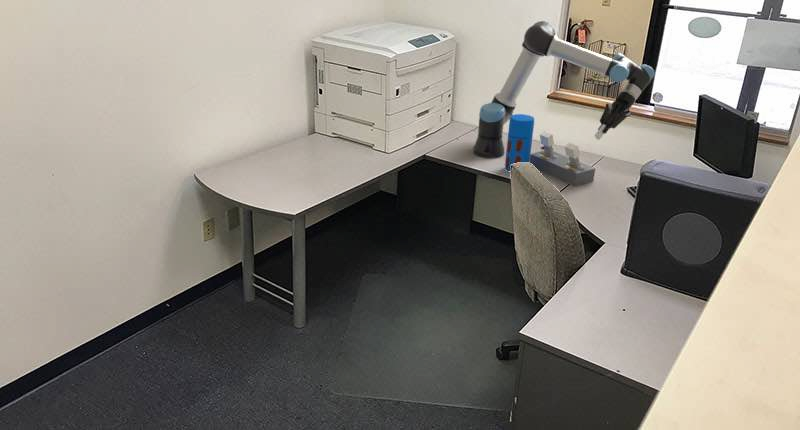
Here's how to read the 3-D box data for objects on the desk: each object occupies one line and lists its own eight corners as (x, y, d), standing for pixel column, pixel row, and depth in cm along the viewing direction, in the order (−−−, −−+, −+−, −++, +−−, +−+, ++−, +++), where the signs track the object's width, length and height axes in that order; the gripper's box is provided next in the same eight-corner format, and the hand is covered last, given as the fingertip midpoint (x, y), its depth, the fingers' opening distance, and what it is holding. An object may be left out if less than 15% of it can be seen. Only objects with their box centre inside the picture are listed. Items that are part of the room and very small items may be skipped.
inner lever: (542, 154, 289) (539, 134, 283) (547, 151, 290) (544, 131, 284) (550, 157, 285) (547, 137, 279) (555, 154, 286) (552, 134, 280)
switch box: (529, 165, 292) (530, 151, 289) (547, 161, 298) (549, 146, 295) (574, 186, 271) (577, 171, 268) (593, 181, 277) (595, 165, 274)
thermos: (527, 175, 281) (534, 122, 270) (503, 173, 283) (509, 120, 272) (528, 167, 291) (534, 115, 280) (505, 164, 292) (510, 113, 281)
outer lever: (568, 165, 277) (564, 146, 270) (573, 161, 278) (569, 142, 271) (577, 169, 273) (573, 150, 267) (582, 165, 274) (578, 146, 268)
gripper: (643, 104, 275) (611, 146, 274) (619, 97, 285) (588, 138, 284) (637, 94, 270) (605, 137, 269) (613, 87, 280) (582, 128, 279)
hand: (596, 137), depth 277 cm, fingers closed
